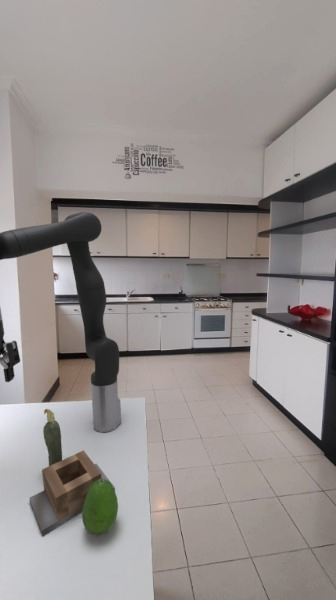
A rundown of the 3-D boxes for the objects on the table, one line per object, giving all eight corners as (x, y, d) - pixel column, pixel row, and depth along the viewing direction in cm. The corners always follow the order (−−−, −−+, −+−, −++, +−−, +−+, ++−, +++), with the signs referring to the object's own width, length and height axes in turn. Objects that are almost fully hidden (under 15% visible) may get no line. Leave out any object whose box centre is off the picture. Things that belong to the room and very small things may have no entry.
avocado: (120, 539, 60) (118, 490, 58) (83, 550, 57) (79, 500, 56) (116, 507, 67) (114, 463, 65) (83, 516, 65) (80, 471, 63)
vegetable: (67, 470, 79) (62, 406, 76) (56, 481, 75) (50, 414, 72) (54, 466, 81) (49, 403, 78) (43, 477, 77) (37, 411, 74)
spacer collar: (96, 468, 80) (95, 444, 79) (115, 492, 72) (113, 466, 71) (29, 503, 69) (27, 476, 68) (42, 536, 60) (39, 506, 59)
